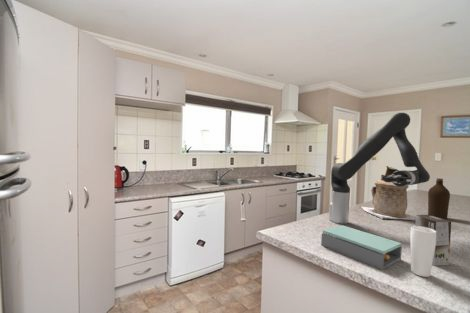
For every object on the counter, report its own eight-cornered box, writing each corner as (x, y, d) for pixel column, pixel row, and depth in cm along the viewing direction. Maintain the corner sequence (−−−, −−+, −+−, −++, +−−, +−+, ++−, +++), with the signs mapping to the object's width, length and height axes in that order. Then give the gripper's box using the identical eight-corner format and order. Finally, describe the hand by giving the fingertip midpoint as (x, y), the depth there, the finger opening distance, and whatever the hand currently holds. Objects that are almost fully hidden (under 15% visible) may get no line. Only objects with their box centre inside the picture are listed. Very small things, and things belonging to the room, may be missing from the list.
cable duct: (321, 244, 101) (321, 233, 101) (341, 238, 109) (342, 227, 109) (382, 269, 81) (382, 255, 81) (401, 259, 89) (401, 246, 89)
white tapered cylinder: (435, 281, 75) (438, 234, 74) (409, 274, 78) (411, 229, 78) (431, 272, 81) (434, 228, 80) (407, 266, 84) (409, 224, 84)
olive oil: (439, 220, 146) (442, 179, 145) (422, 215, 156) (424, 177, 156) (453, 219, 148) (455, 179, 148) (435, 214, 159) (437, 177, 158)
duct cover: (322, 232, 101) (322, 230, 101) (341, 227, 109) (341, 225, 109) (383, 254, 81) (383, 251, 81) (401, 245, 89) (401, 243, 89)
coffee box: (450, 265, 86) (453, 221, 85) (433, 265, 85) (436, 221, 85) (427, 254, 95) (430, 214, 94) (412, 254, 94) (415, 214, 94)
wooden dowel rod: (334, 241, 103) (334, 236, 103) (337, 240, 104) (337, 235, 104) (387, 261, 85) (388, 255, 85) (390, 259, 87) (390, 254, 87)
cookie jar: (421, 221, 143) (425, 168, 142) (380, 219, 143) (383, 166, 142) (394, 210, 167) (397, 165, 166) (359, 209, 168) (361, 163, 166)
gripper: (388, 169, 121) (371, 169, 111) (420, 171, 110) (404, 172, 100) (387, 183, 121) (370, 185, 111) (419, 188, 110) (403, 190, 100)
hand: (386, 179), depth 106 cm, fingers closed
